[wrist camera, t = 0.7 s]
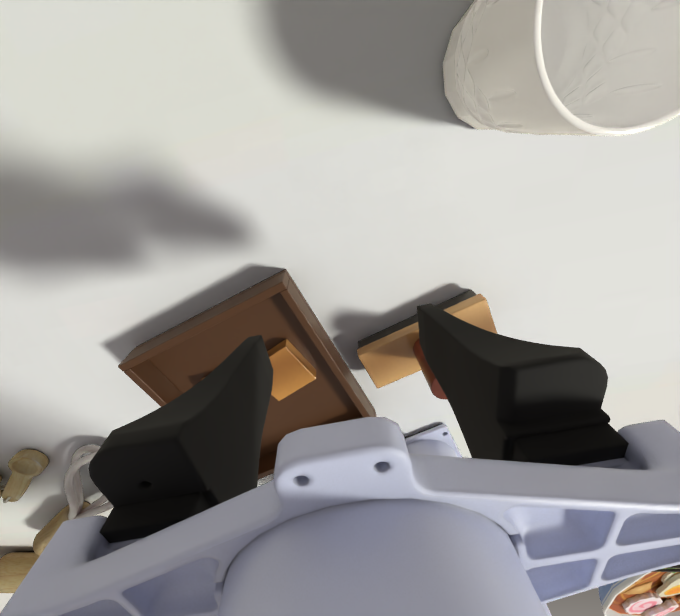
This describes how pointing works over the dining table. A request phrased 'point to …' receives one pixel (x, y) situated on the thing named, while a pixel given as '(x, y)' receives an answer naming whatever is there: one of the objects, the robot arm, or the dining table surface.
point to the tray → (275, 326)
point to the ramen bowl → (643, 594)
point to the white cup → (565, 66)
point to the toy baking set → (25, 466)
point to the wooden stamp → (416, 343)
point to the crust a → (289, 370)
